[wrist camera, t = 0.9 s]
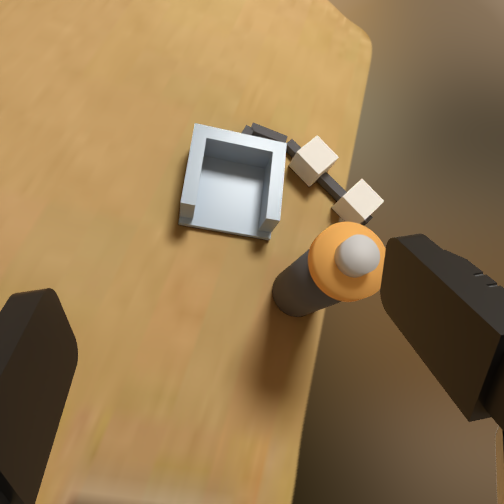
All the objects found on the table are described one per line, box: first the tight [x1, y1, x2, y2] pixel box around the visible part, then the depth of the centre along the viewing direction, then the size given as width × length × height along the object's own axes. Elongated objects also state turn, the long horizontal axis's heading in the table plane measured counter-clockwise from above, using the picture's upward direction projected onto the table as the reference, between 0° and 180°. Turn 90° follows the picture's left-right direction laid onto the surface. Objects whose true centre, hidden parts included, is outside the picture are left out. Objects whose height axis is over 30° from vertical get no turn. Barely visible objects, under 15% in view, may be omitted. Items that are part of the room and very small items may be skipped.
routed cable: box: [242, 123, 384, 226], centre depth 36 cm, size 15×7×3 cm, turn 43°
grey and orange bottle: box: [272, 222, 386, 317], centre depth 28 cm, size 5×5×12 cm
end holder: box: [178, 123, 287, 240], centre depth 34 cm, size 8×8×4 cm
